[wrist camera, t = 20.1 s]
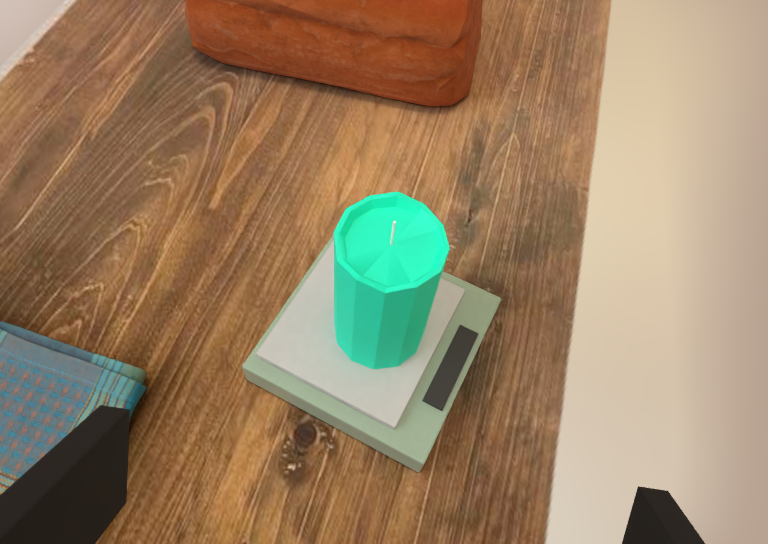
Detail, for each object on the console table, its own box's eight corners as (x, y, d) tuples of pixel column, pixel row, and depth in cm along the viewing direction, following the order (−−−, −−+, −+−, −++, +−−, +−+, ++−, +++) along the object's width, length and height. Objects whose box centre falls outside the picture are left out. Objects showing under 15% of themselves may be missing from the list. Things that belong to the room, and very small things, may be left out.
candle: (340, 282, 41) (342, 167, 30) (427, 293, 41) (458, 182, 30) (326, 363, 38) (323, 265, 27) (420, 375, 38) (452, 282, 27)
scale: (494, 313, 44) (504, 293, 41) (419, 473, 37) (425, 462, 35) (340, 240, 46) (341, 217, 43) (245, 379, 40) (239, 362, 37)
